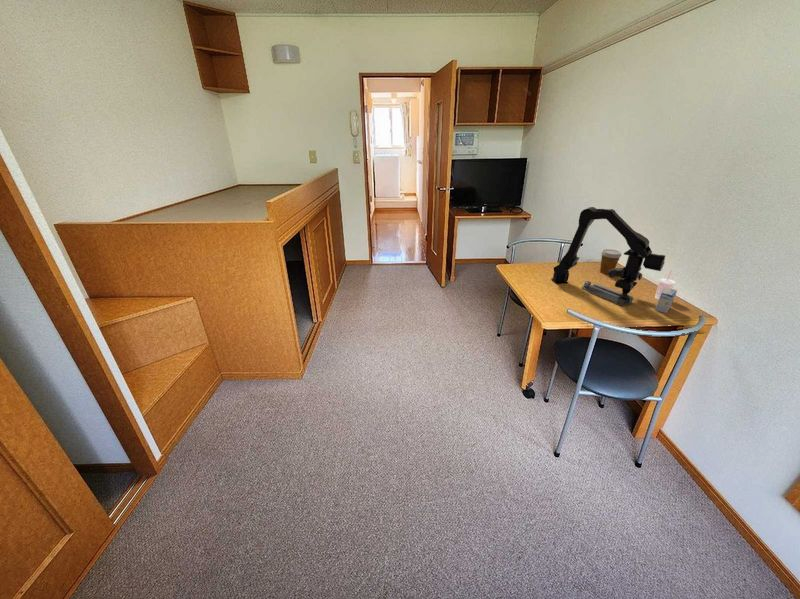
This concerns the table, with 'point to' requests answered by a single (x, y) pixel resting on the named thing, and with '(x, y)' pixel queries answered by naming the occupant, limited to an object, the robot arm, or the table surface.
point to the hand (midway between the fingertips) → (623, 296)
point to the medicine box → (665, 300)
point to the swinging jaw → (615, 292)
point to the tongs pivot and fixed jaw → (605, 294)
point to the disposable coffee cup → (609, 260)
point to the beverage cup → (664, 285)
